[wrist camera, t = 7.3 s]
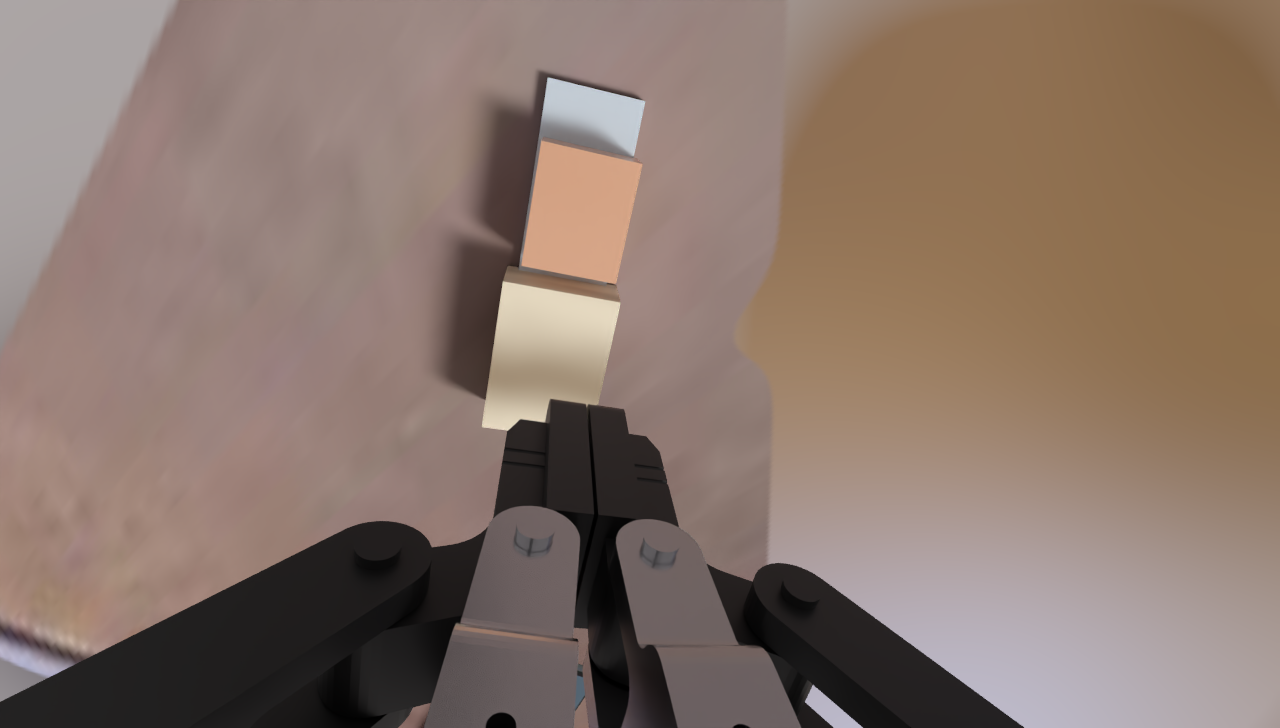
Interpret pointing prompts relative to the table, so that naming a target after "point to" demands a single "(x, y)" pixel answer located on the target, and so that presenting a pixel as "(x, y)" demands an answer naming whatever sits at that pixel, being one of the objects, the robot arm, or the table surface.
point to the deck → (548, 345)
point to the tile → (580, 210)
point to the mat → (586, 131)
